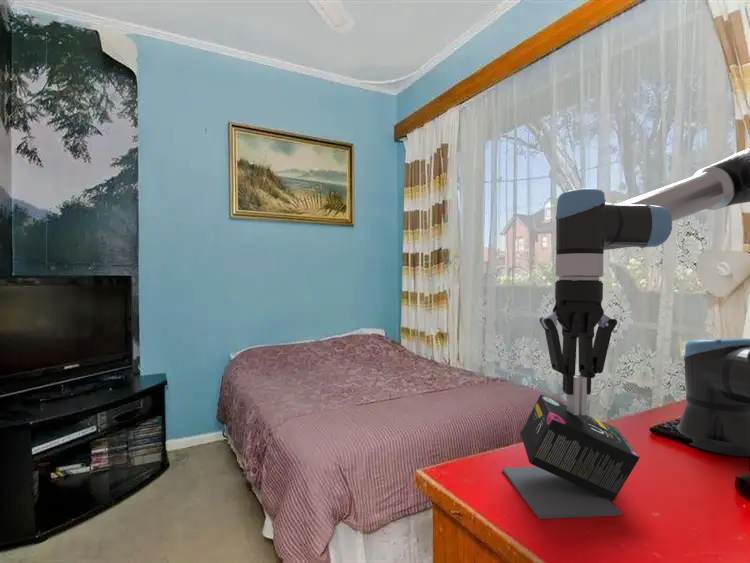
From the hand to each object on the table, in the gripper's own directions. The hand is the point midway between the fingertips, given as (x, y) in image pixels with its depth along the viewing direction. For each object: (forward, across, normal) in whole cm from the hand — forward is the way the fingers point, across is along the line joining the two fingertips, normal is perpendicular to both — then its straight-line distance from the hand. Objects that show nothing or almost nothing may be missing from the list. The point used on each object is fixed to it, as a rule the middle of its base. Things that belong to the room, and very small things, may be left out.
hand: (576, 412), depth 72 cm
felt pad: (+13, +4, +1) cm, 14 cm away
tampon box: (+9, -7, +1) cm, 11 cm away
